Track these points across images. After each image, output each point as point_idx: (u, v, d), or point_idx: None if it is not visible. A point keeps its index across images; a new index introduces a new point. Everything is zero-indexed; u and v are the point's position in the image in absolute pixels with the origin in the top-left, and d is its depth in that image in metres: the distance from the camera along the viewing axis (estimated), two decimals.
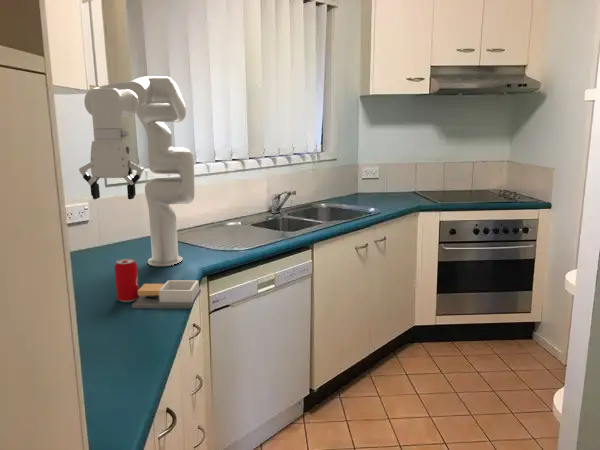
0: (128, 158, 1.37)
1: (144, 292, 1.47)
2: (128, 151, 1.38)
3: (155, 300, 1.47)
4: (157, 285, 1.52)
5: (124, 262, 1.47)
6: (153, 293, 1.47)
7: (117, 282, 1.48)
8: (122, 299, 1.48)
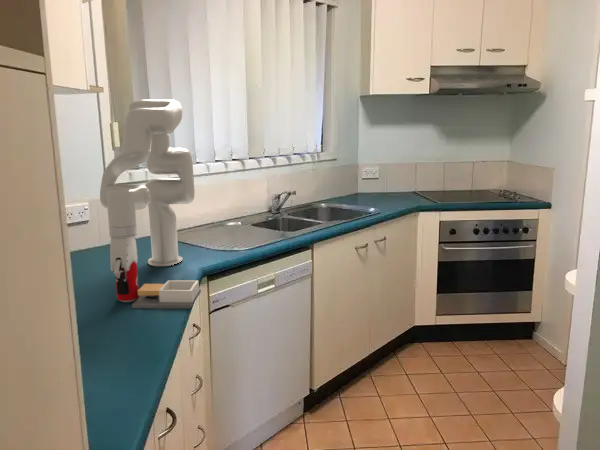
0: None
1: (144, 292, 1.47)
2: None
3: (155, 300, 1.47)
4: (157, 285, 1.52)
5: None
6: (153, 293, 1.47)
7: None
8: (122, 299, 1.48)
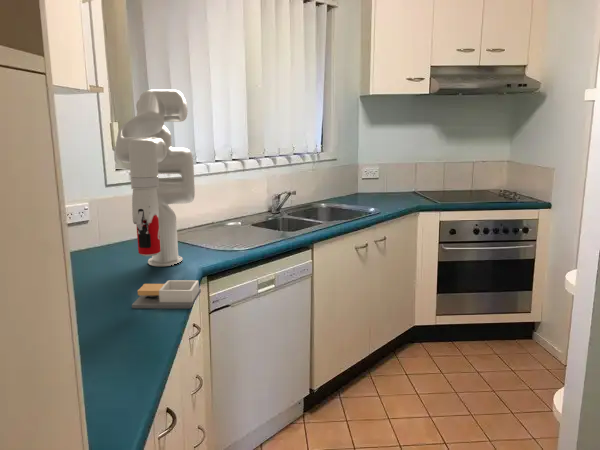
0: None
1: (144, 292, 1.47)
2: None
3: (155, 300, 1.47)
4: (157, 285, 1.52)
5: None
6: (153, 293, 1.47)
7: None
8: (144, 253, 1.45)
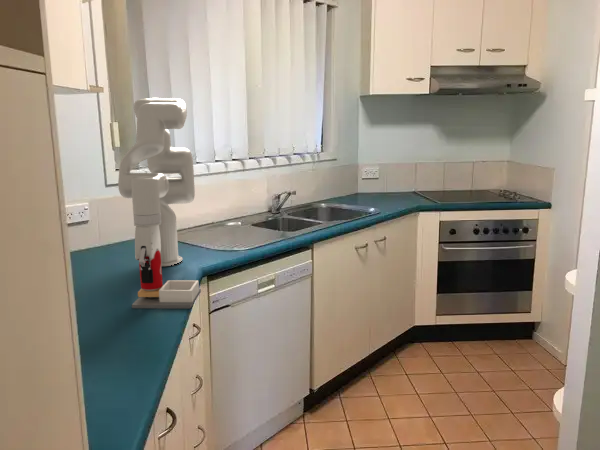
0: None
1: (144, 294, 1.47)
2: None
3: (155, 300, 1.47)
4: None
5: None
6: (153, 295, 1.47)
7: None
8: (146, 288, 1.47)
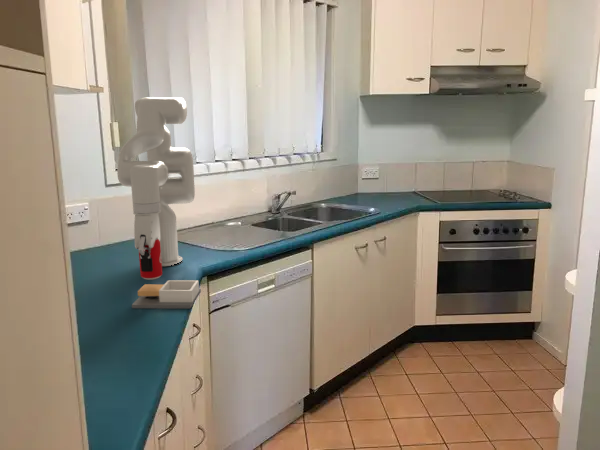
0: None
1: (144, 293, 1.47)
2: None
3: (155, 300, 1.47)
4: (157, 286, 1.52)
5: None
6: (153, 294, 1.47)
7: None
8: (146, 276, 1.47)
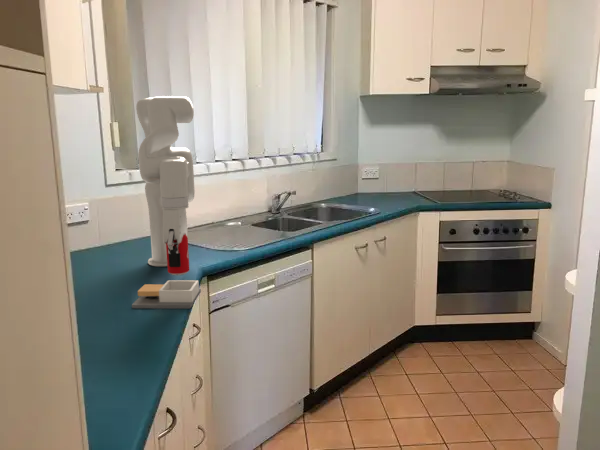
0: None
1: (144, 293, 1.47)
2: None
3: (155, 300, 1.47)
4: (157, 286, 1.52)
5: None
6: (153, 294, 1.47)
7: (168, 255, 1.45)
8: (173, 272, 1.46)
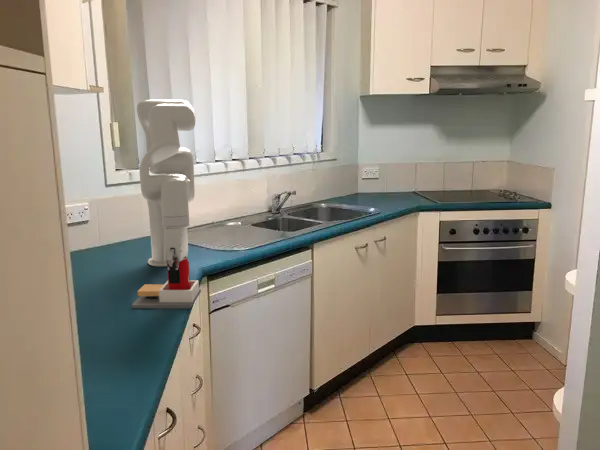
0: None
1: (144, 293, 1.47)
2: None
3: (155, 300, 1.47)
4: (157, 286, 1.52)
5: None
6: (153, 294, 1.47)
7: None
8: None
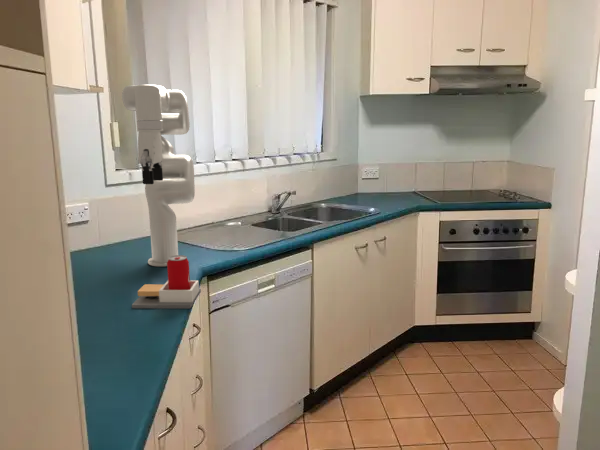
0: None
1: (144, 293, 1.47)
2: None
3: (155, 300, 1.47)
4: (157, 286, 1.52)
5: (177, 259, 1.47)
6: (153, 294, 1.47)
7: (170, 279, 1.47)
8: None
